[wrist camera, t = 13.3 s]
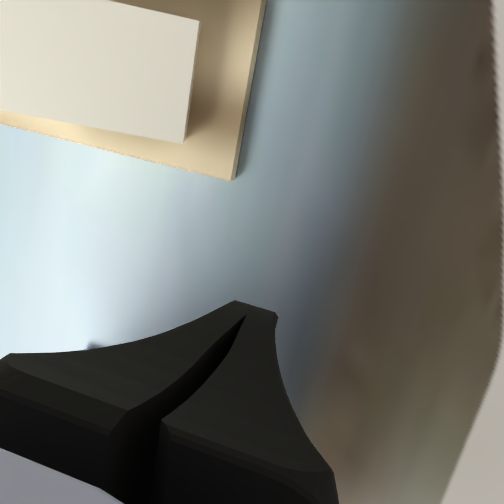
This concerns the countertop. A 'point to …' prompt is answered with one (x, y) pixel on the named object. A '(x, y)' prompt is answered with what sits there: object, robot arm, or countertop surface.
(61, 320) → the countertop surface
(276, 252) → the countertop surface
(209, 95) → the oak strip
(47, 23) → the domino
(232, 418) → the robot arm
